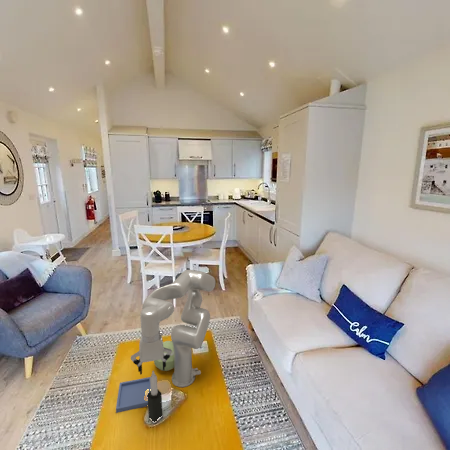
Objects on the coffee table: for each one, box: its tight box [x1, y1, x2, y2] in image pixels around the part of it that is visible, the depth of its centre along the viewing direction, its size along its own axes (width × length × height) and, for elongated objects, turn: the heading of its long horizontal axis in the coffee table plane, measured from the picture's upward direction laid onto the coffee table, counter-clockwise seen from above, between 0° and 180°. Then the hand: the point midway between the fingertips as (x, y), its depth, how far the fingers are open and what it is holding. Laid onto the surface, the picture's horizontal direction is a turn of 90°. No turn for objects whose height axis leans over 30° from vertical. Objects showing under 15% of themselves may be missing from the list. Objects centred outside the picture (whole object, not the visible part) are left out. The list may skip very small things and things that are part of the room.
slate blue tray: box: [115, 376, 151, 414], centre depth 133 cm, size 16×16×2 cm
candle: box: [147, 370, 163, 422], centre depth 119 cm, size 5×5×25 cm
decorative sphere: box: [153, 340, 174, 372], centre depth 151 cm, size 15×15×15 cm
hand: (152, 370), depth 116 cm, fingers open, 9 cm apart
